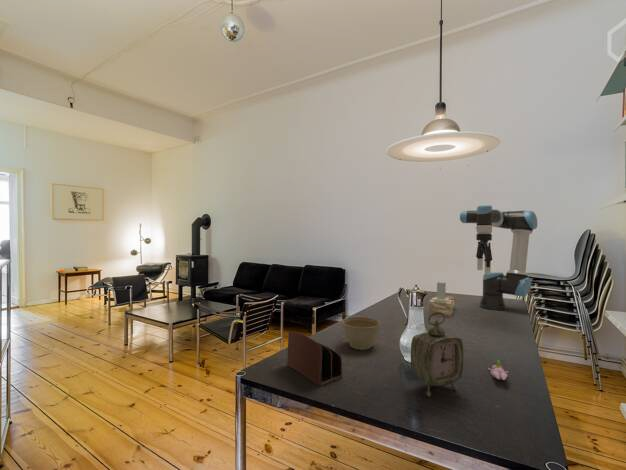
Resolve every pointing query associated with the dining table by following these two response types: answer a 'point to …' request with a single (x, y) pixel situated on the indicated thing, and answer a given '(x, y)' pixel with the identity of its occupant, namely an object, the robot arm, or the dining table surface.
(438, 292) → the grey green flanged column
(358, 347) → the planter bowl
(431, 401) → the dining table surface
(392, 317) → the dining table surface
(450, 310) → the beige streaked bowl
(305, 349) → the letter holder
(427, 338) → the tabletop clock
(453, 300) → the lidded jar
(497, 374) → the pink flower
